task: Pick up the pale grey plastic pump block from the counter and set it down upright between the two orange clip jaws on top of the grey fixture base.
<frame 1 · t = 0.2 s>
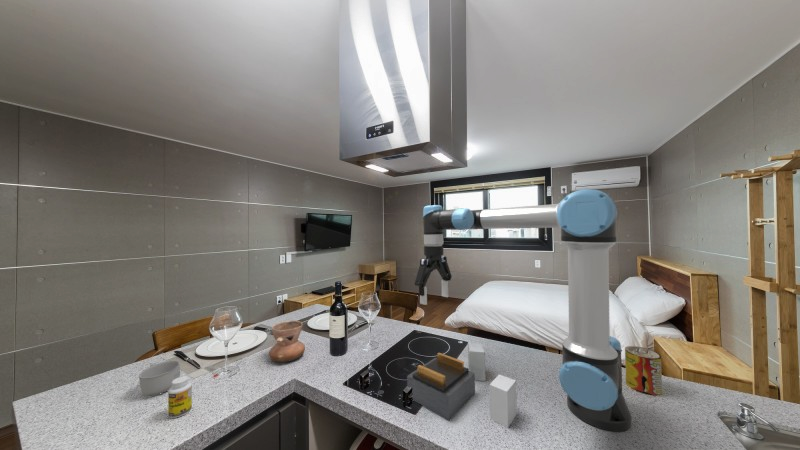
hand: (434, 300, 101), 28 cm above the worktop, tool pointing down, fingers open, 13 cm apart
supplement bottle: (180, 413, 81), on the worktop
gray oval bowl: (159, 389, 94), on the worktop
small box: (476, 375, 98), on the worktop
ceramic jug: (288, 357, 115), on the worktop
grey fixture base: (441, 395, 86), on the worktop
pump block: (503, 416, 76), on the worktop
beverage can: (643, 387, 89), on the worktop
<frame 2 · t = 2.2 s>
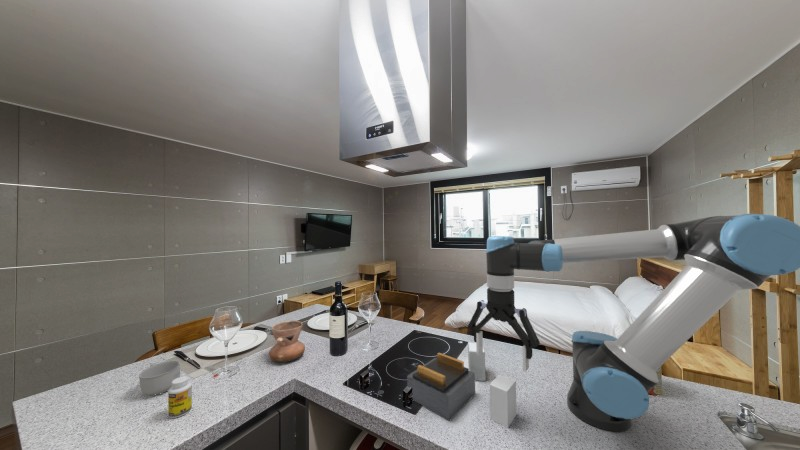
hand: (501, 360, 77), 16 cm above the worktop, tool pointing down, fingers open, 13 cm apart
nothing on the worktop moved.
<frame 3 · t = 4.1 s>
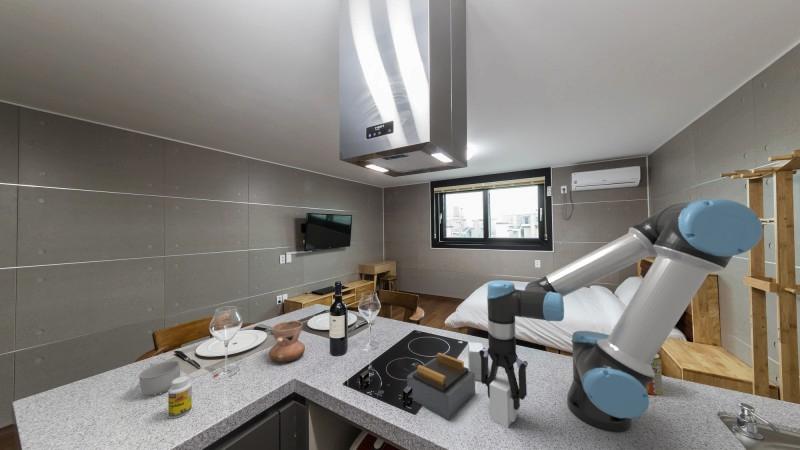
hand: (503, 413, 76), 1 cm above the worktop, tool pointing down, fingers closed on pump block, 5 cm apart
pump block: (503, 416, 76), on the worktop, touching gripper
everything else where it was.
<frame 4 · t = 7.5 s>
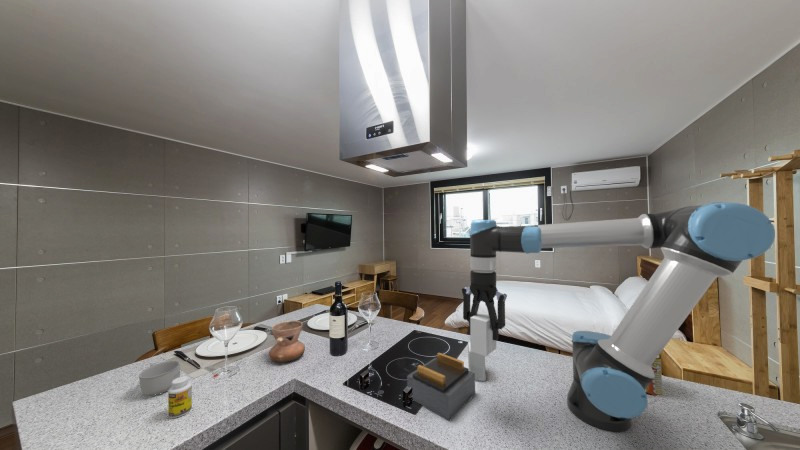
hand: (483, 346, 79), 19 cm above the worktop, tool pointing down, fingers closed on pump block, 5 cm apart
pump block: (483, 349, 79), point 18 cm above the worktop, touching gripper
everything else where it was.
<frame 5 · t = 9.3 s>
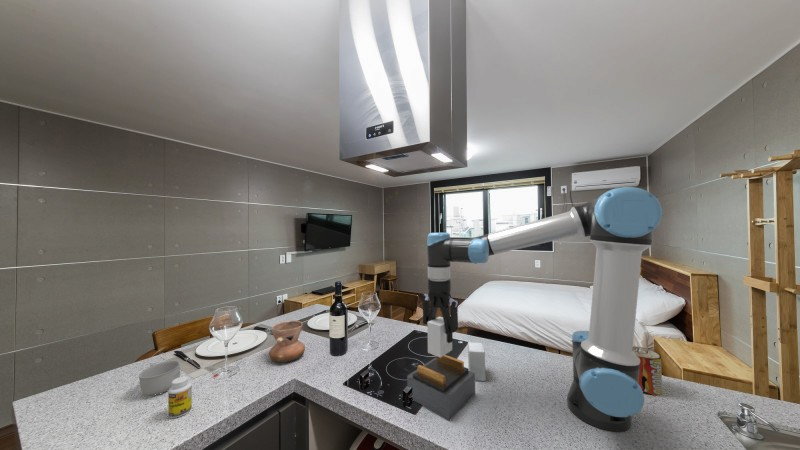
hand: (440, 348, 87), 15 cm above the worktop, tool pointing down, fingers closed on pump block, 5 cm apart
pump block: (440, 351, 87), point 15 cm above the worktop, touching gripper
everything else where it was.
when the fingers open (10 cm above the worktop, at t = 10.8 s): pump block drops 1 cm, resting on grey fixture base.
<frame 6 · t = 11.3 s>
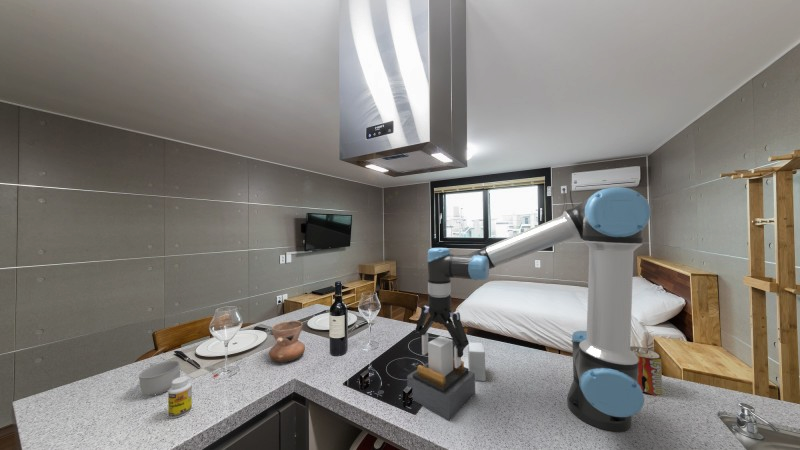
hand: (440, 359, 87), 12 cm above the worktop, tool pointing down, fingers open, 12 cm apart
pump block: (441, 371, 87), point 8 cm above the worktop, touching grey fixture base
everything else where it was.
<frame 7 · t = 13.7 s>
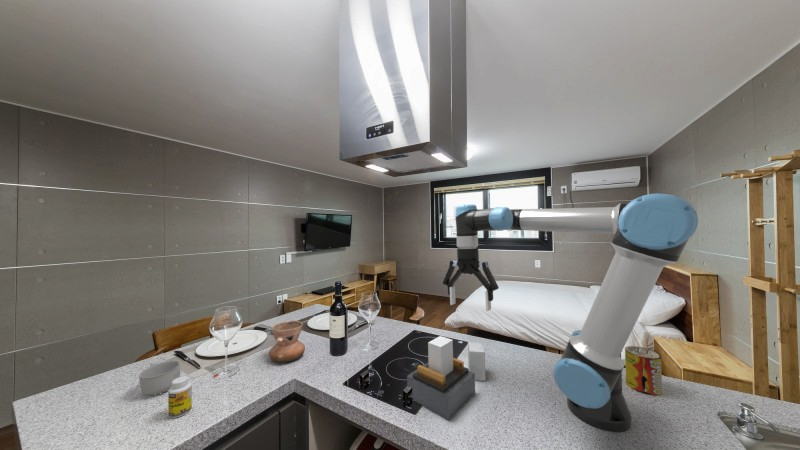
hand: (469, 307, 94), 27 cm above the worktop, tool pointing down, fingers open, 13 cm apart
nothing on the worktop moved.
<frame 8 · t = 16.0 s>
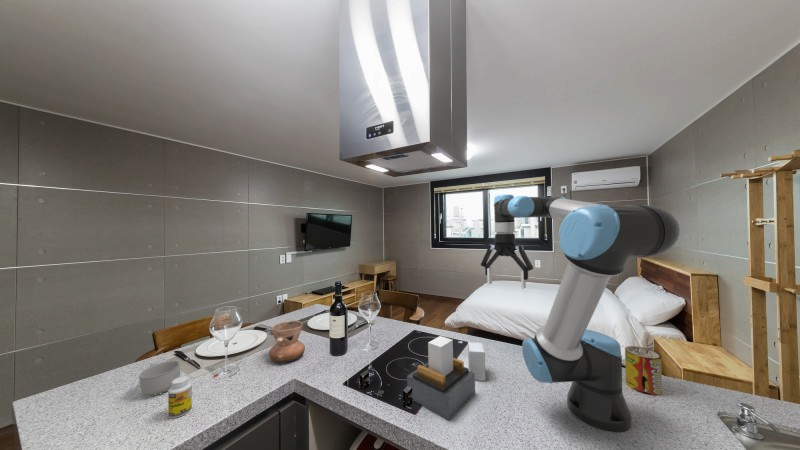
hand: (506, 285, 106), 32 cm above the worktop, tool pointing down, fingers open, 13 cm apart
nothing on the worktop moved.
at the end: pump block 0.0 cm off-centre on the grey fixture base, point 8.0 cm above the grey fixture base's base; pump block tilted 0°; the gripper is holding nothing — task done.
